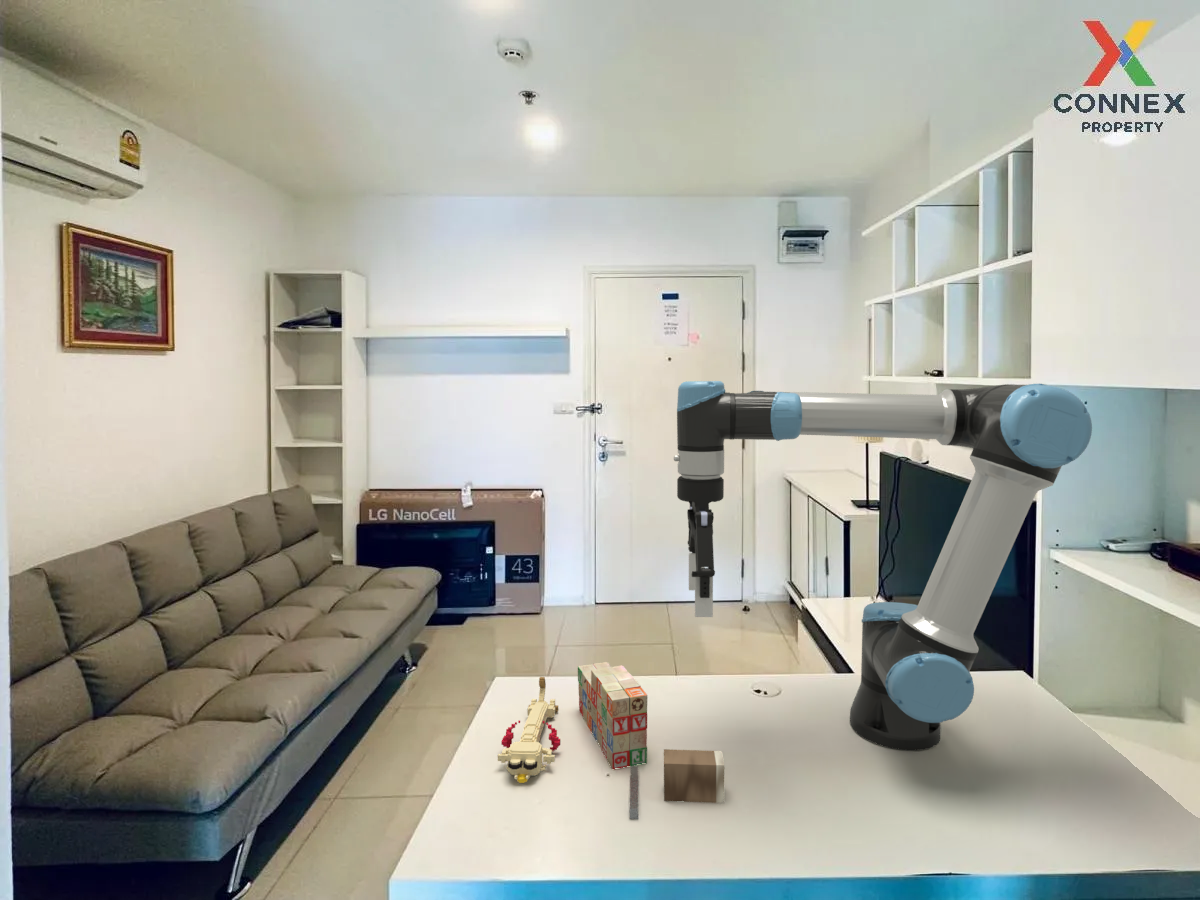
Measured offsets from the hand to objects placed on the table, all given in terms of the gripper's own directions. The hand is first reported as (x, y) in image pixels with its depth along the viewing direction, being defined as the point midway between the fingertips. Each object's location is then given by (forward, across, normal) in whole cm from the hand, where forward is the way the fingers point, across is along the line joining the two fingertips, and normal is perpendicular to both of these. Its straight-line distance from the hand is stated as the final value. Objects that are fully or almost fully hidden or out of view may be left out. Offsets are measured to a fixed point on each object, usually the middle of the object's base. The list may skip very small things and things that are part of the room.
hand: (699, 602), depth 113 cm
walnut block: (+24, +11, -6) cm, 27 cm away
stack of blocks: (+27, -6, -15) cm, 32 cm away
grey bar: (+27, +12, -11) cm, 31 cm away
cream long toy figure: (+27, -2, -29) cm, 40 cm away
